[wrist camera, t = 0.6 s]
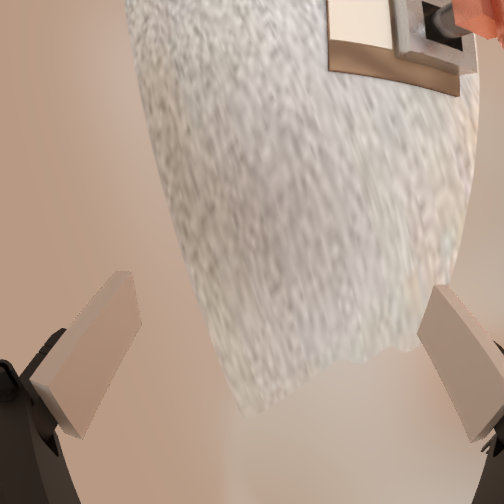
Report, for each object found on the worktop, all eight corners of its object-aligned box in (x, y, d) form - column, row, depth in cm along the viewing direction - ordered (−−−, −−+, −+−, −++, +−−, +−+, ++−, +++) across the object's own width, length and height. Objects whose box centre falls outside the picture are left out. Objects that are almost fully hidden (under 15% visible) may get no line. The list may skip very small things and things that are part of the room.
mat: (326, -23, 24) (326, -25, 24) (384, -12, 24) (386, -13, 23) (329, 40, 28) (330, 38, 28) (390, 50, 28) (392, 49, 27)
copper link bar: (406, -3, 24) (475, -53, 8) (435, 6, 24) (510, -32, 8) (412, 66, 28) (500, 41, 12) (441, 73, 28) (532, 60, 12)
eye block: (389, -5, 24) (403, -19, 20) (450, 15, 24) (468, 6, 19) (394, 58, 28) (410, 50, 24) (456, 75, 28) (476, 72, 23)
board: (323, -30, 24) (325, -34, 24) (447, 2, 24) (450, 0, 23) (328, 70, 31) (330, 69, 30) (456, 96, 30) (459, 96, 29)
